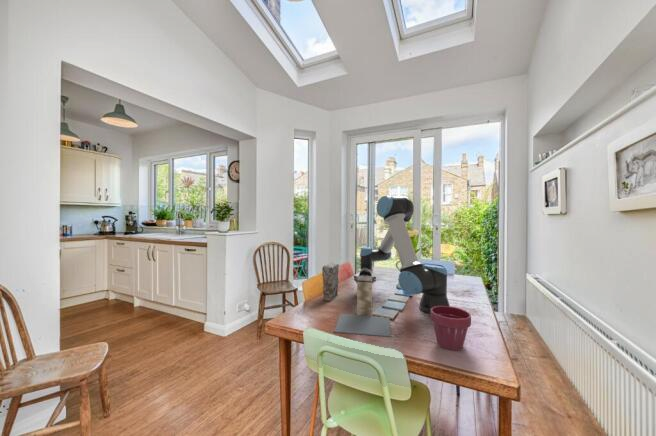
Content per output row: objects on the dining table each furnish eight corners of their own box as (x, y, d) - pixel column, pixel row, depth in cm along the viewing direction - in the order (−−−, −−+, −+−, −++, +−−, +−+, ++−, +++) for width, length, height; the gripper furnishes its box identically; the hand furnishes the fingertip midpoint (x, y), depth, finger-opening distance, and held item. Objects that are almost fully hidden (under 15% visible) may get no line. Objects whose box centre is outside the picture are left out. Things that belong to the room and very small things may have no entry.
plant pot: (464, 337, 109) (464, 306, 108) (476, 355, 95) (476, 320, 95) (427, 334, 112) (427, 304, 111) (433, 351, 98) (434, 317, 98)
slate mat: (389, 317, 129) (389, 317, 129) (391, 337, 109) (391, 336, 109) (340, 314, 133) (340, 313, 133) (333, 332, 114) (333, 331, 114)
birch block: (371, 310, 138) (371, 276, 136) (371, 316, 131) (371, 280, 129) (358, 309, 139) (358, 275, 137) (357, 315, 132) (357, 280, 130)
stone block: (333, 301, 152) (333, 267, 152) (322, 300, 154) (322, 266, 154) (339, 294, 165) (339, 262, 164) (328, 293, 167) (328, 262, 166)
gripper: (376, 282, 160) (375, 294, 136) (354, 281, 162) (350, 292, 139) (376, 269, 159) (376, 279, 136) (354, 268, 162) (350, 278, 139)
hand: (363, 286), depth 138 cm, fingers closed
